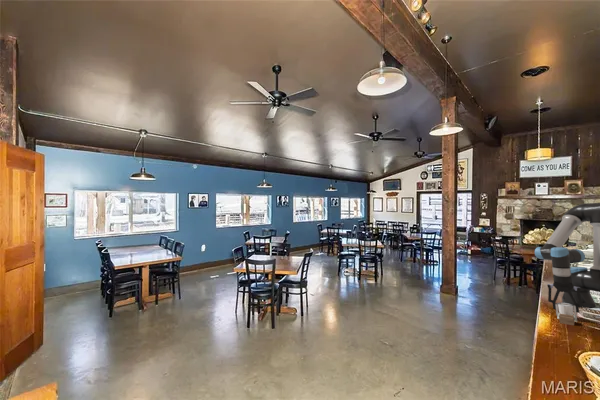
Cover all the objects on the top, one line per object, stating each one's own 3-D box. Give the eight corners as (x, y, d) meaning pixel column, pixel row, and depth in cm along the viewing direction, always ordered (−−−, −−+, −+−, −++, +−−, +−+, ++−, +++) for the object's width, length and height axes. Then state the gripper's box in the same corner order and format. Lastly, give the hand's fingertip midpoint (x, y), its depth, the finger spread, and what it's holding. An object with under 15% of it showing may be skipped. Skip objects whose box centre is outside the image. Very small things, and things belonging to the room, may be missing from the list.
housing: (560, 321, 153) (559, 313, 153) (574, 324, 149) (573, 315, 149) (560, 324, 149) (559, 316, 149) (574, 327, 145) (573, 318, 145)
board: (557, 314, 163) (557, 312, 163) (576, 316, 157) (576, 315, 157) (557, 319, 155) (557, 318, 155) (577, 323, 149) (577, 321, 149)
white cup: (578, 319, 151) (577, 306, 151) (563, 319, 152) (562, 306, 152) (569, 314, 157) (567, 302, 158) (555, 314, 159) (553, 302, 159)
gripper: (538, 274, 160) (543, 314, 159) (587, 278, 147) (592, 322, 145) (539, 272, 165) (543, 311, 164) (586, 275, 152) (591, 318, 151)
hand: (566, 316), depth 155 cm, fingers closed on white cup, 7 cm apart
